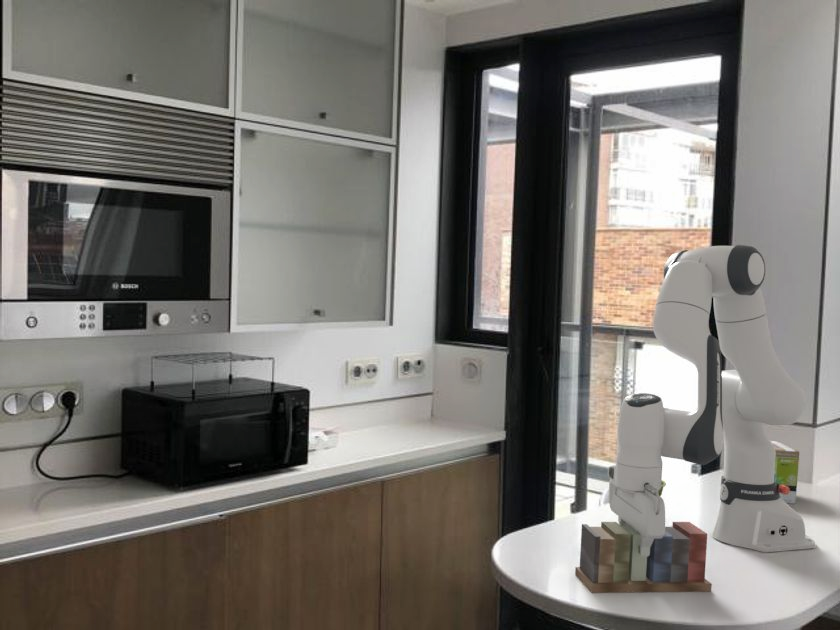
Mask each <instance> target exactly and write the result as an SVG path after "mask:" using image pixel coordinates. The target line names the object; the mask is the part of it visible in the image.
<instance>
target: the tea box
mask: <svg viewBox="0 0 840 630" xmlns="http://www.w3.org/2000/svg"><path fill="white" fill-rule="evenodd" d="M770 441H771V443H772V444H773V445H774V448H775V451H776V457H775V472H774V481H775V482H776V483H778V484H779V485H785V486H788V487H789V488H790V489H788V490H790V491H789V492H790V493H788V495H784V494H782V493H780V492H779V494H780V498H781V499H782V500H783V501H784V502H785V503H787V504H796V502H797V501H796V500H797V489H798V488H797V487H798V478H799V477H798V476H799V464H800V463H799V462H800V450H798V449H796V448H793V447H791V446H789V445H787V444H784V443H783V442H780V441H775V440H774V441H773V440H770Z"/></svg>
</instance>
